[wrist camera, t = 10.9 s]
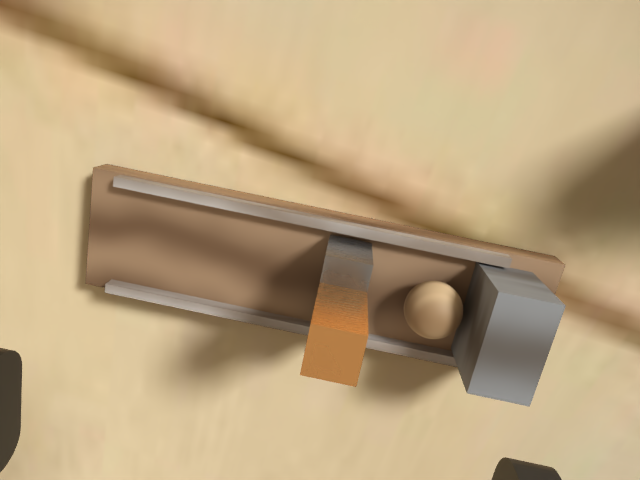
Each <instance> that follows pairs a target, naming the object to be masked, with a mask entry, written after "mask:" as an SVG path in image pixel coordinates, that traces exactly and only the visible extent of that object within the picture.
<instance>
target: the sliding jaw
mask: <svg viewBox="0 0 640 480" xmlns="http://www.w3.org/2000/svg"><path fill="white" fill-rule="evenodd" d="M372 270H373V252H372V243H369V242H365V241H360V240H355V239H350V238H345V237H340V236H336V235H331V234H330V237H329V241H328V246H327V250H326V255H325V259H324V264H323V269H322V274H321V279H320V284H319V288H318V293H317V297H316V301H315V306H314V310H313V315H312V319H311V324H310V329H309V334H308V338H307V343H306V348H305V353H304V358H303V363H302V368H301V373H300V375H303V376H308V377H312V378H317V379H322V380H326V381H331V382H336V383H341V384H345V385H350V386H355V387H356V385H357V381H358V377H359V373H360V369H361V365H362V361H363V357H364V352H365V348H366V344H367V340H368V336H369V335H368V304H367V291H368V287H369V282H370V278H371V274H372Z"/></svg>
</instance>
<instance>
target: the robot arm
mask: <svg viewBox="0 0 640 480" xmlns="http://www.w3.org/2000/svg"><path fill="white" fill-rule="evenodd" d="M21 387H22V361H21V357H20V355H19V354H18V353H17V352H16V351H12V350H7V349H3V348H0V472H1V471H2V470H3V469H4V467H5V466H6V465H7V463H8V462H9V460H10V458H11V457H12V455H13V453H14V451H15V448H16V446H17V443H18V440H19V436H20V429H21ZM492 480H561V478H560V476H559V474H558V473H557V471H556V470H555V469H553V468H552V467H548V466H543V465H538V464H534V463H529V462H524V461H520V460H515V459H510V458H506V457H505V458H502V459H501V460H500V461H499V463H498V465H497V467H496V469H495V472H494V475H493V478H492Z"/></svg>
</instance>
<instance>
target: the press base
mask: <svg viewBox="0 0 640 480" xmlns="http://www.w3.org/2000/svg"><path fill="white" fill-rule="evenodd" d="M330 234H331V235H336V236H340V237H345V238H350V239H355V240H360V241H365V242H369V243H372V252H373V270H372V274H371V278H370V282H369V287H368V291H367V304H368V335H369V336H368V340H367V344H366V348H369V349H374V350H379V351H383V352H388V353H393V354H398V355H402V356H407V357H412V358H416V359H421V360H426V361H431V362H435V363H440V364H445V365H449V366H454V367H458V370H459V372H460V375H461V378H462V381H463V384H464V386H465V389H466V392H467V393H468V394H473V395H478V396H482V397H487V398H492V399H497V400H501V401H506V402H511V403H515V404H520V405H525V406H529V407H530V404H531V401H532V398H533V396H534V393H535V390H536V387H537V384H538V382H539V379H540V376H541V373H542V370H543V368H544V365H545V362H546V359H547V356H548V354H549V351H550V348H551V345H552V342H553V340H554V337H555V334H556V331H557V328H558V326H559V323H560V320H561V317H562V314H563V312H564V309H565V305H564V304H563V303H562V302H561V301H560V300H559V299H558V298H557V297H556V295H555V293H556V290H557V287H558V284H559V282H560V279H561V276H562V273H563V270H564V267H565V264H564V263H562V262H561V261H560V260H559V259H557V258H556V257H555V256H551V255H546V254H541V253H536V252H531V251H526V250H522V249H517V248H512V247H507V246H502V245H497V244H492V243H488V242H483V241H478V240H473V239H468V238H463V237H458V236H454V235H449V234H444V233H439V232H434V231H429V230H424V229H419V228H415V227H410V226H405V225H400V224H395V223H390V222H385V221H381V220H376V219H371V218H366V217H361V216H356V215H351V214H347V213H342V212H337V211H332V210H327V209H322V208H317V207H313V206H308V205H303V204H298V203H293V202H288V201H283V200H279V199H274V198H269V197H264V196H259V195H254V194H249V193H245V192H240V191H235V190H230V189H225V188H220V187H215V186H211V185H206V184H201V183H196V182H191V181H186V180H181V179H176V178H172V177H167V176H162V175H157V174H152V173H147V172H142V171H138V170H133V169H128V168H123V167H118V166H113V165H108V164H105V165H101V166H98V167H94V168H93V178H92V194H91V209H90V224H89V239H88V254H87V270H86V284H90V285H95V286H100V287H104V288H105V293H109V294H114V295H119V296H123V297H128V298H133V299H138V300H142V301H147V302H152V303H157V304H161V305H166V306H171V307H175V308H180V309H185V310H190V311H194V312H199V313H204V314H209V315H213V316H218V317H223V318H227V319H232V320H237V321H242V322H246V323H251V324H256V325H260V326H265V327H270V328H275V329H279V330H284V331H289V332H294V333H298V334H303V335H308V334H309V329H310V324H311V319H312V315H313V310H314V306H315V301H316V297H317V293H318V288H319V284H320V279H321V274H322V269H323V264H324V259H325V255H326V250H327V246H328V241H329V237H330ZM431 280H433V281H440V282H444V283H446V284H448V285H450V286H451V287H452V288H453V289H454V290H455V291H456V292H457V293H458V295H459V296H460V298H461V301H462V304H463V318H462V321H461V323H460V325H459V327H458V328H457V329H456V330H455V331H454V332H453V333H452V334H450V335H449V336H447V337H444V338H440V339H428V338H425V337H422V336H420V335H418V334H417V333H415V332H414V331H413V330H412V329H411V328H410V326H409V325H408V323H407V321H406V319H405V315H404V303H405V299H406V297H407V295H408V293H409V292H410V291H411V290H412V288H414V287H415V286H416V285H418V284H420V283H422V282H425V281H431Z"/></svg>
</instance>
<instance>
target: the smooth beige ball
mask: <svg viewBox="0 0 640 480" xmlns="http://www.w3.org/2000/svg"><path fill="white" fill-rule="evenodd" d="M404 315H405V319H406V321H407V323H408V325H409V326H410V328H411V329H412V330H413V331H414V332H415V333H417V334H418V335H420V336H422V337H425V338H428V339H440V338H444V337H447V336H449V335H450V334H452V333H453V332H454V331H455V330H456V329H457V328H458V327H459V325H460V323H461V321H462V318H463V304H462V301H461V298H460V296H459V295H458V293H457V292H456V291H455V290H454V289H453V288H452V287H451V286H450V285H448V284H446V283H444V282H440V281H433V280H431V281H425V282H422V283H420V284H418V285H416V286H415V287H414V288H412V290H411V291H410V292H409V293H408V295H407V297H406V299H405V303H404Z"/></svg>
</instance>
